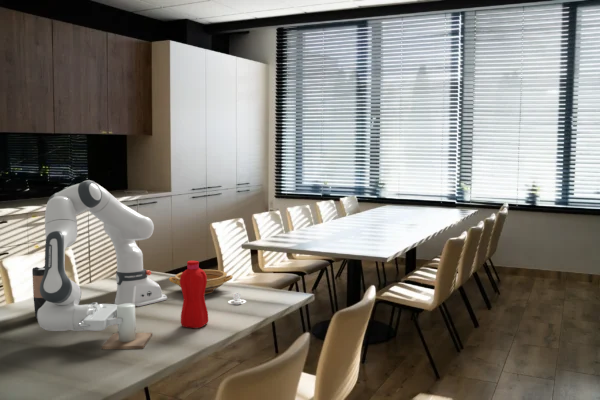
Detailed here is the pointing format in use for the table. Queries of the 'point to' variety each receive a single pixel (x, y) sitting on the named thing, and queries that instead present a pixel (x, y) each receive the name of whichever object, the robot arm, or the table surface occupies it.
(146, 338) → the walnut coaster
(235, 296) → the teacup and saucer
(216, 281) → the wicker basket
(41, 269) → the travel mug
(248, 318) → the table surface
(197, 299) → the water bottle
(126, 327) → the white rounded block
